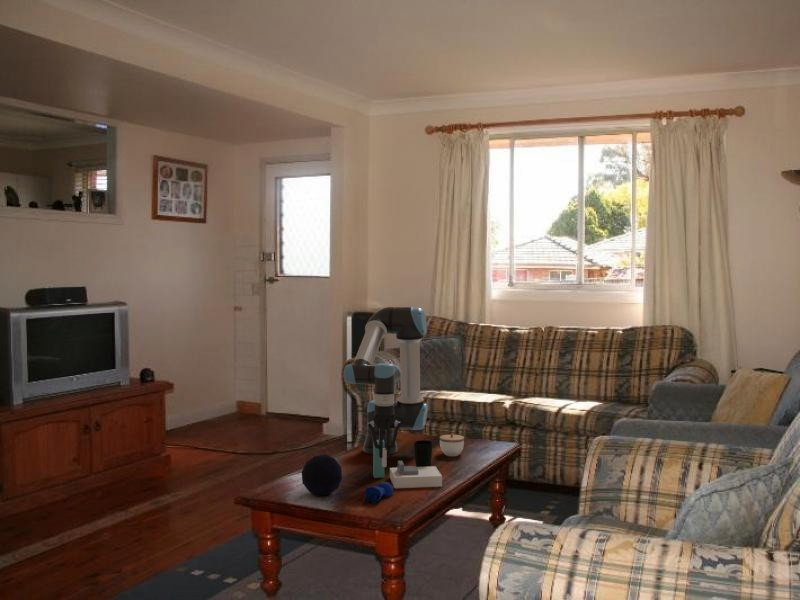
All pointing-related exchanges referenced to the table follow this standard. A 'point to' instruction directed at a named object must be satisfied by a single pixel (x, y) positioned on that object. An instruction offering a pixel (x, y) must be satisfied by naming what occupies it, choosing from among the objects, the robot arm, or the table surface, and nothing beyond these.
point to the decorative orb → (321, 475)
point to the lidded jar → (451, 444)
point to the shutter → (406, 469)
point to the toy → (378, 492)
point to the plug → (377, 462)
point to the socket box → (417, 478)
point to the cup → (423, 453)
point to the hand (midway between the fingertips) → (384, 466)
